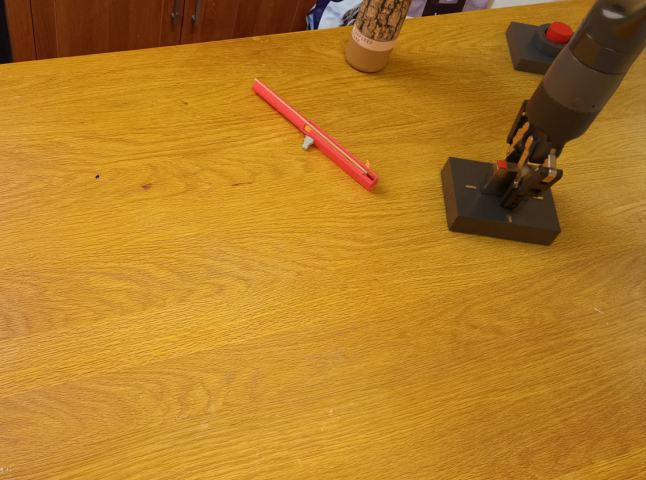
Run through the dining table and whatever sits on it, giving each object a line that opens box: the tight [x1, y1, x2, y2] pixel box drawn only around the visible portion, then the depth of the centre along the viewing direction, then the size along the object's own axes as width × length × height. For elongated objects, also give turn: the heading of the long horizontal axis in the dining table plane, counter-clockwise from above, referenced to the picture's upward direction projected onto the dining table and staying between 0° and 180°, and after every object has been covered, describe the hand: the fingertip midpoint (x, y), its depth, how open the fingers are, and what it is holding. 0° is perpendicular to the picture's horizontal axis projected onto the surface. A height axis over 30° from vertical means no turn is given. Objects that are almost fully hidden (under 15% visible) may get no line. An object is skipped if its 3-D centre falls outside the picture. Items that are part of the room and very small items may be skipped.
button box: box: [505, 20, 575, 76], centre depth 121 cm, size 12×10×4 cm
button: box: [546, 21, 574, 44], centre depth 119 cm, size 4×4×2 cm
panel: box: [440, 156, 562, 247], centre depth 100 cm, size 14×11×3 cm
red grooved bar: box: [252, 78, 379, 192], centre depth 104 cm, size 24×2×5 cm
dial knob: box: [481, 159, 532, 200], centre depth 97 cm, size 6×2×5 cm, turn 85°
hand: (504, 192), depth 99 cm, fingers open, 4 cm apart
